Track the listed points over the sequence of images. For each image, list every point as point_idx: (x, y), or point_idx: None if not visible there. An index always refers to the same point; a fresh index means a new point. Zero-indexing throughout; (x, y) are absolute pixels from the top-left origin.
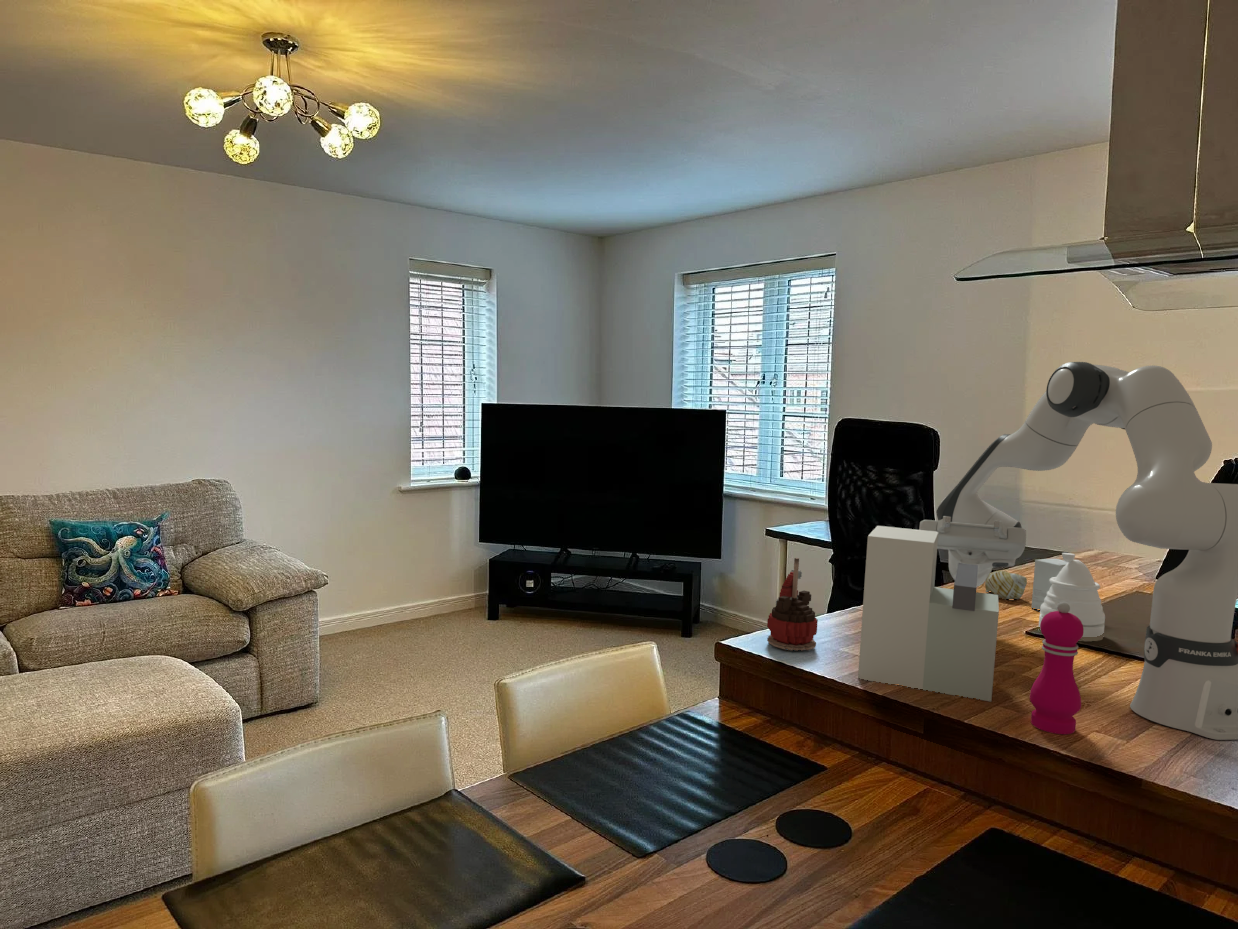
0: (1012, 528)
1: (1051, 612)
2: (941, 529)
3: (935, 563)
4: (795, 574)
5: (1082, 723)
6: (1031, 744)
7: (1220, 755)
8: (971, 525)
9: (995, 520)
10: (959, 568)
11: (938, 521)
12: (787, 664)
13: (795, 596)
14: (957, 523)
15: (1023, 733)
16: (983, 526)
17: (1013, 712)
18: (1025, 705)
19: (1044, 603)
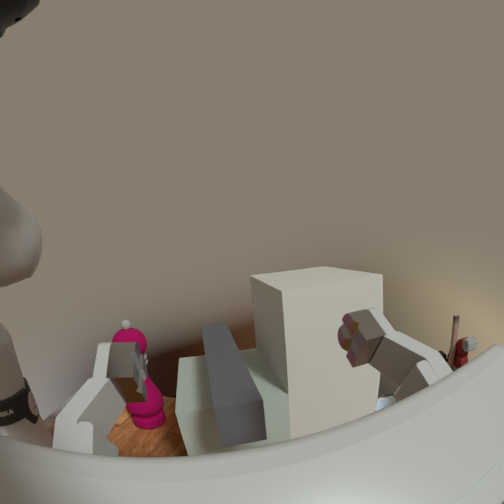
0: (23, 441)
1: (135, 330)
2: (395, 378)
3: (279, 343)
4: (452, 336)
5: (123, 433)
6: (169, 396)
7: (51, 417)
8: (289, 440)
9: (130, 342)
10: (243, 368)
11: (430, 351)
12: (391, 395)
13: (448, 364)
14: (380, 410)
15: (173, 405)
16: (201, 457)
17: (178, 430)
18: (166, 447)
19: None
